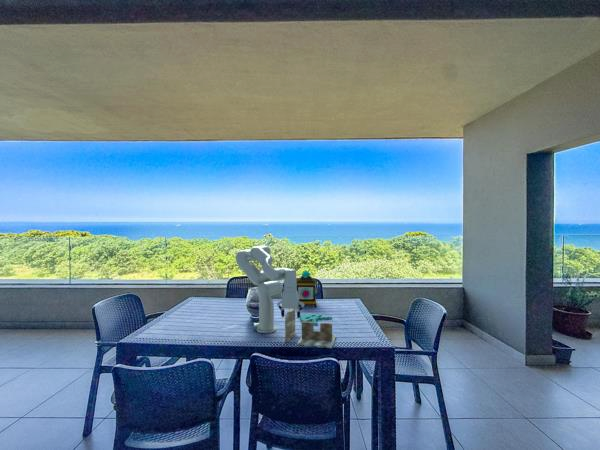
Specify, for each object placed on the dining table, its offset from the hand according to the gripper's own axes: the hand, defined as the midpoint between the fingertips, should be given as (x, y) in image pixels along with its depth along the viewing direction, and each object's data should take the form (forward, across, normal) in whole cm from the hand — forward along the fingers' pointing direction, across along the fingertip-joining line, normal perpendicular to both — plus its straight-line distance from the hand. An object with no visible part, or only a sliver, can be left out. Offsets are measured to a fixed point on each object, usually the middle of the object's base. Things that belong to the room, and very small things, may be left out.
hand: (290, 317), depth 198 cm
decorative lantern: (+12, -8, +80) cm, 81 cm away
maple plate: (+12, 0, 0) cm, 13 cm away
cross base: (+13, +17, -2) cm, 21 cm away
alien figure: (+13, +6, +40) cm, 42 cm away
